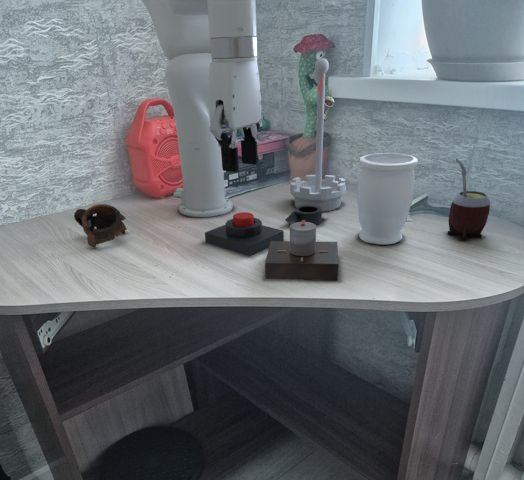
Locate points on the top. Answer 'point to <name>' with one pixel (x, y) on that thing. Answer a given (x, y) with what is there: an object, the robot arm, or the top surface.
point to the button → (243, 219)
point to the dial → (302, 238)
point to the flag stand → (319, 162)
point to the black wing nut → (306, 214)
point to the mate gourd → (468, 211)
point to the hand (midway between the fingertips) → (240, 166)
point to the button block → (244, 237)
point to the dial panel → (302, 262)
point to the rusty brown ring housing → (100, 223)
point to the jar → (385, 196)
